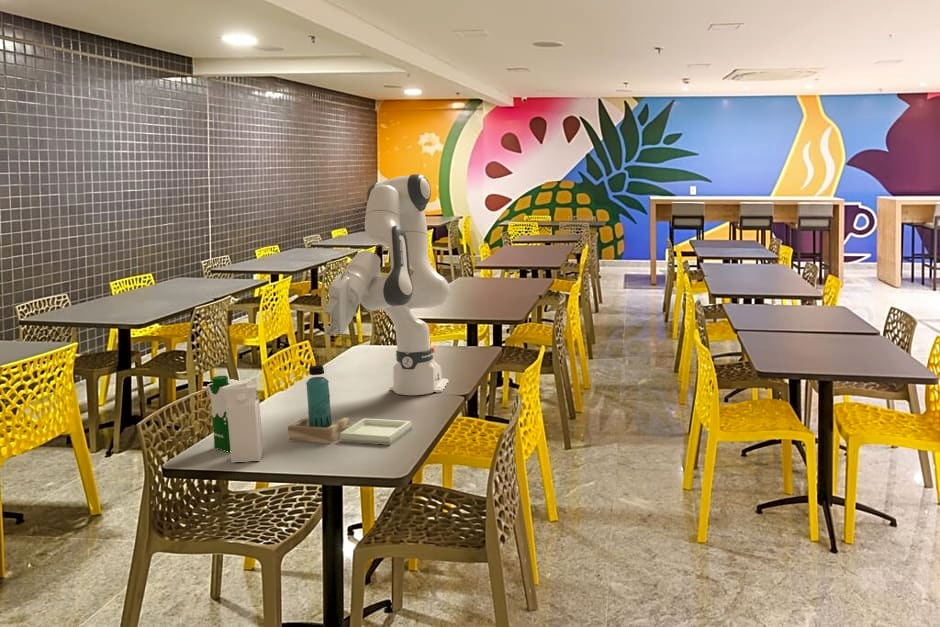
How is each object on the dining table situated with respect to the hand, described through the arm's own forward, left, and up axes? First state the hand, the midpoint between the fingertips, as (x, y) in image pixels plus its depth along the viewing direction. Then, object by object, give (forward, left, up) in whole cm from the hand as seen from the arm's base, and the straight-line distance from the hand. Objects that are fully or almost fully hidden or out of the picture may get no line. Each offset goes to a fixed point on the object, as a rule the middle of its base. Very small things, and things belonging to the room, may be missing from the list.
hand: (327, 323), depth 251 cm
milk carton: (+32, -8, -31) cm, 45 cm away
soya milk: (+24, -19, -31) cm, 43 cm away
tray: (+6, +17, -30) cm, 35 cm away
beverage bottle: (+9, +1, -31) cm, 32 cm away
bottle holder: (+9, +1, -30) cm, 32 cm away
